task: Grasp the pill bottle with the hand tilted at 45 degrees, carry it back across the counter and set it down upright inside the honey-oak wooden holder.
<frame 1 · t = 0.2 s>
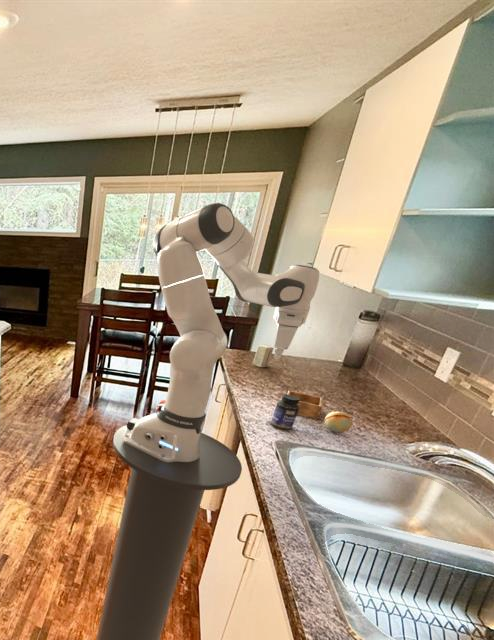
hand: (276, 356, 135), 22 cm above the counter, tool pointing down, fingers open, 8 cm apart
beige rectangular block: (259, 366, 193), on the counter
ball: (333, 431, 132), on the counter
holder: (300, 410, 147), on the counter
pill bottle: (280, 426, 134), on the counter
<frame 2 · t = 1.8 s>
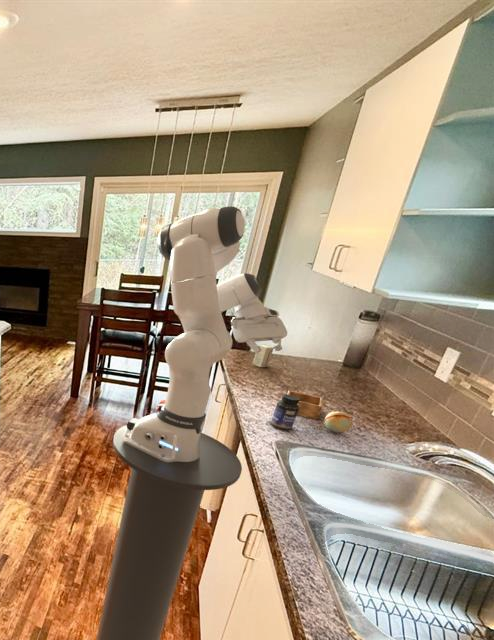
hand: (268, 351, 136), 23 cm above the counter, tool tilted 45°, fingers open, 8 cm apart
nothing on the counter moved.
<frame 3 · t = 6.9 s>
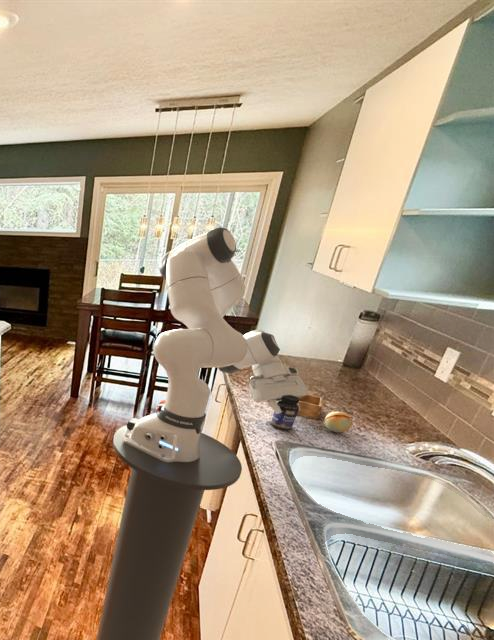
hand: (288, 412, 131), 6 cm above the counter, tool tilted 45°, fingers closed on pill bottle, 6 cm apart
pill bottle: (280, 426, 134), on the counter, touching gripper
everything else where it was.
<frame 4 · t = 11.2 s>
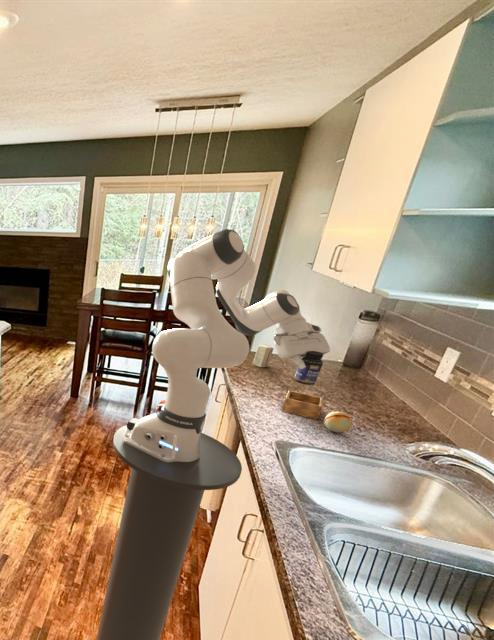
hand: (312, 367, 136), 19 cm above the counter, tool tilted 45°, fingers closed on pill bottle, 6 cm apart
pill bottle: (303, 382, 139), point 12 cm above the counter, touching gripper
everything else where it was.
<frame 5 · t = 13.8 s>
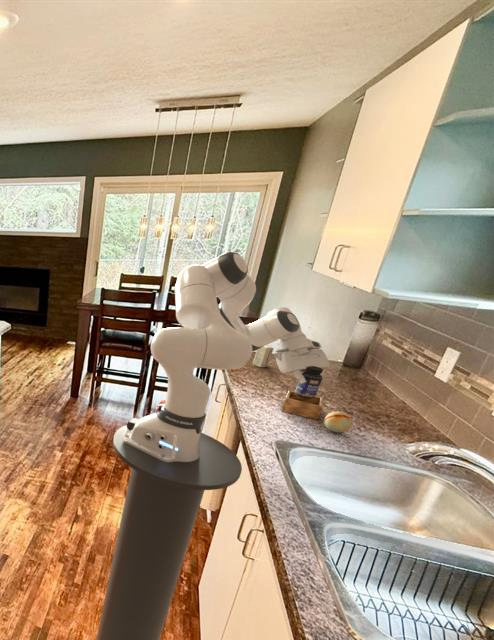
hand: (312, 382, 142), 12 cm above the counter, tool tilted 45°, fingers closed on pill bottle, 6 cm apart
pill bottle: (304, 396, 145), point 6 cm above the counter, touching gripper
everything else where it was.
when the fingers open (6 cm above the counter, at t = 15.8 s): pill bottle stays where it is, resting on holder.
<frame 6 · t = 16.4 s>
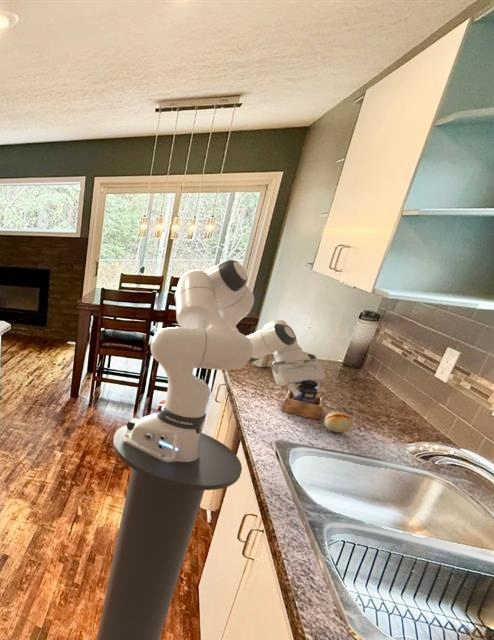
hand: (308, 394, 143), 7 cm above the counter, tool tilted 45°, fingers open, 8 cm apart
pill bottle: (299, 409, 147), resting on holder
everything else where it was.
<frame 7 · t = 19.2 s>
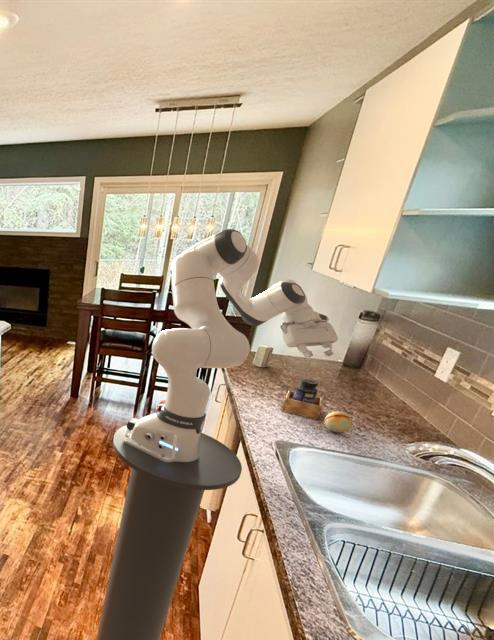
hand: (319, 356, 135), 22 cm above the counter, tool tilted 45°, fingers open, 8 cm apart
nothing on the counter moved.
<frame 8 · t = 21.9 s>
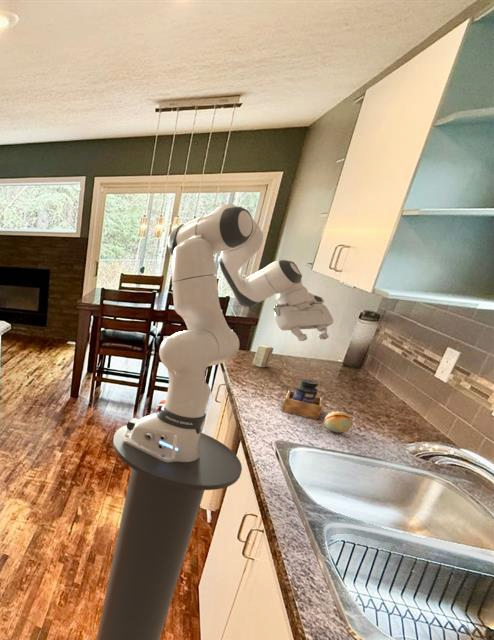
hand: (314, 339, 129), 29 cm above the counter, tool tilted 45°, fingers open, 8 cm apart
nothing on the counter moved.
at the end: pill bottle 0.3 cm off-centre in the holder, point 0.4 cm above the holder's base; pill bottle tilted 0°; the gripper is holding nothing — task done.
